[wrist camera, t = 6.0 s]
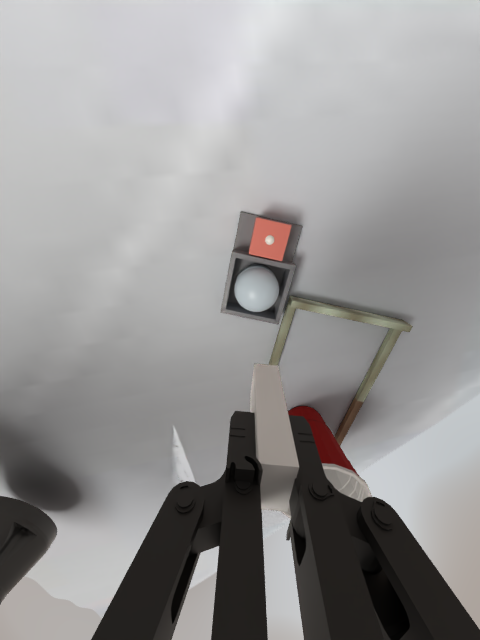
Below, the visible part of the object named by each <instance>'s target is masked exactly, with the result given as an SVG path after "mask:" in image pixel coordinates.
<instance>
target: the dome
mask: <svg viewBox="0 0 480 640" xmlns="http://www.w3.org/2000/svg"><path fill="white" fill-rule="evenodd" d="M234 292H235V297H236V299H237V301H238V303H239V304H240V305H241V306H242V307H243V308H245V309H246V310H249V311H252V312H261V311H264V310H267V309H268V308H270V307H271V306H272V305H273V304H274V303H275V302H276V300H277V297H278V294H279V285H278V281H277V279H276V277H275V275H274V273H273V272H272V271H271V270H270V269H269V268H268V267H266V266H263V265H259V264H254V265H250V266H247V267H245V268H244V269H243V270H242V271H241V272H240V273H239V274H238V276H237V279H236V282H235V288H234Z"/></svg>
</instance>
